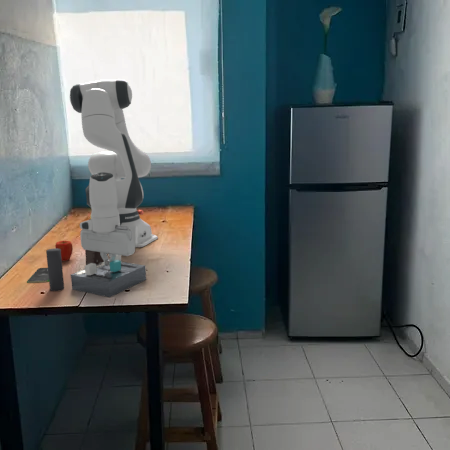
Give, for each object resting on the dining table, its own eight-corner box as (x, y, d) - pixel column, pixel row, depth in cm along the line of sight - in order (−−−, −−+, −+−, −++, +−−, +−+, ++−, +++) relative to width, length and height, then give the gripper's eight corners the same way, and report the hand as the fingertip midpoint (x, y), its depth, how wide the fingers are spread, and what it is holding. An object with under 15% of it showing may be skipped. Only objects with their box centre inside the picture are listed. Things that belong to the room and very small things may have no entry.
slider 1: (92, 271, 173) (91, 263, 172) (96, 272, 172) (96, 263, 171) (85, 274, 170) (84, 265, 169) (90, 275, 169) (89, 266, 168)
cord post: (57, 285, 177) (53, 247, 174) (67, 287, 174) (63, 249, 171) (47, 289, 173) (43, 251, 170) (56, 291, 171) (53, 252, 168)
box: (98, 275, 186) (95, 242, 183) (86, 274, 187) (83, 241, 184) (106, 270, 191) (103, 237, 188) (94, 269, 192) (92, 237, 190)
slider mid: (116, 268, 175) (115, 259, 175) (121, 269, 174) (120, 260, 174) (110, 271, 173) (109, 262, 172) (115, 272, 172) (114, 263, 171)
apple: (77, 258, 206) (75, 240, 204) (65, 263, 201) (63, 243, 199) (65, 256, 209) (63, 238, 208) (53, 260, 204) (51, 242, 202)
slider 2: (116, 261, 183) (116, 253, 182) (121, 262, 182) (120, 254, 181) (111, 264, 180) (110, 255, 180) (115, 264, 179) (114, 256, 179)
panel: (110, 273, 188) (108, 259, 186) (146, 279, 180) (145, 264, 179) (72, 289, 173) (70, 274, 171) (109, 297, 165) (108, 281, 164)
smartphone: (25, 281, 180) (38, 267, 194) (26, 284, 180) (38, 270, 195) (48, 280, 180) (59, 266, 195) (48, 283, 180) (59, 269, 195)
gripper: (137, 224, 169) (140, 266, 172) (89, 219, 179) (93, 258, 182) (124, 229, 163) (127, 272, 166) (75, 223, 173) (79, 264, 177)
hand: (109, 265), depth 174 cm, fingers closed
